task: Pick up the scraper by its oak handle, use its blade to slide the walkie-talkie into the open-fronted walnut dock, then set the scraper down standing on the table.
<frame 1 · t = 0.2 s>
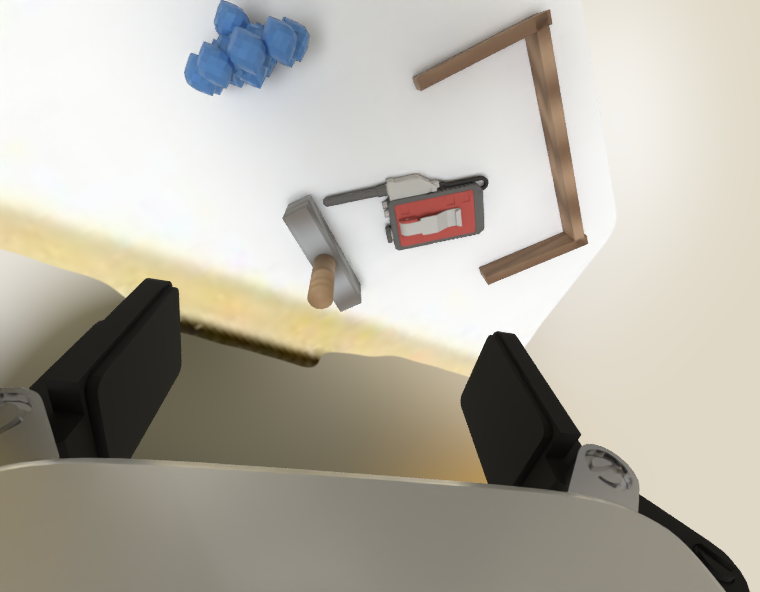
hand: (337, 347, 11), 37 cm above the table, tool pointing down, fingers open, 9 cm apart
walkie-talkie: (406, 208, 48), on the table
grapes: (257, 49, 38), on the table
dock: (498, 168, 45), on the table
scraper: (326, 246, 49), on the table
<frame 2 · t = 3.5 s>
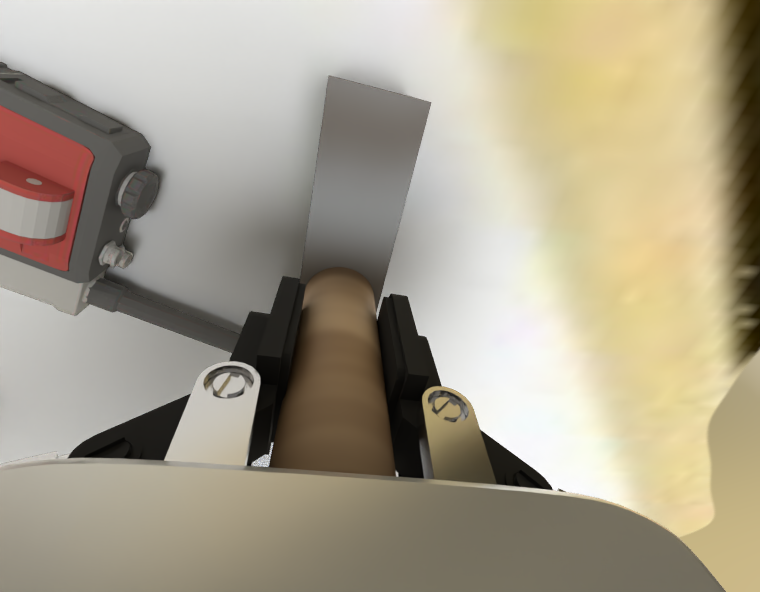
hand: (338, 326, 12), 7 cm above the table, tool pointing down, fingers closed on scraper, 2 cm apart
walkie-talkie: (76, 196, 17), on the table
scraper: (340, 246, 18), on the table, touching gripper
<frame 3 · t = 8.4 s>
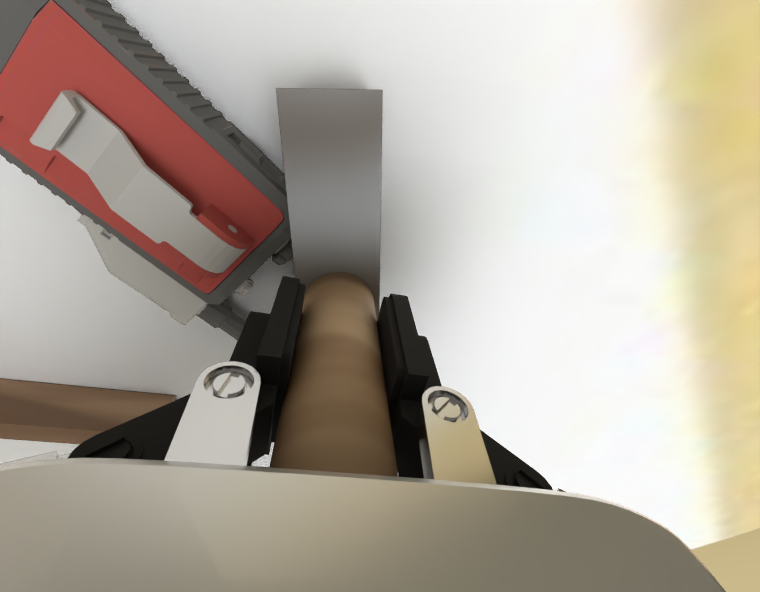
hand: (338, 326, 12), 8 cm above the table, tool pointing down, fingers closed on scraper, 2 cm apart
walkie-talkie: (218, 221, 18), on the table, touching scraper
dock: (18, 183, 16), on the table
scraper: (340, 253, 18), point 1 cm above the table, touching gripper, walkie-talkie
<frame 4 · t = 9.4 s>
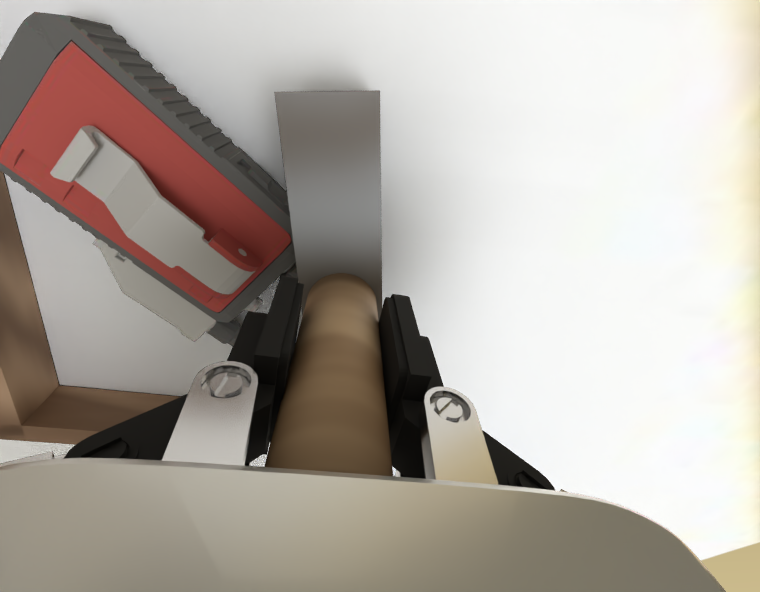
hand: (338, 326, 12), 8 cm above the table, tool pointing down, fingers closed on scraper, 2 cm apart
walkie-talkie: (226, 241, 19), on the table, touching dock, scraper
dock: (152, 209, 18), on the table
scraper: (345, 255, 18), point 1 cm above the table, touching gripper, walkie-talkie
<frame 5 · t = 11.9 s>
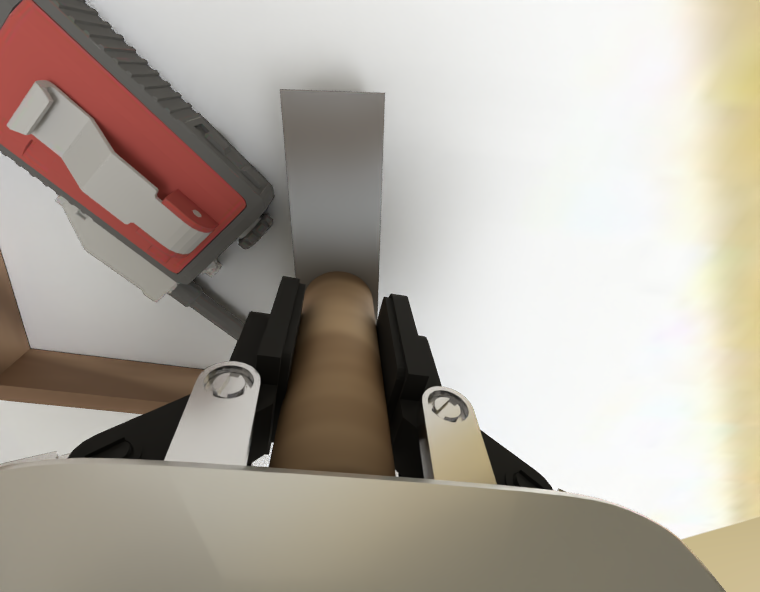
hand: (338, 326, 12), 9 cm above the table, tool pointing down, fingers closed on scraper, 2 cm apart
walkie-talkie: (190, 206, 20), on the table
dock: (112, 172, 18), on the table
scraper: (339, 252, 18), point 2 cm above the table, touching gripper
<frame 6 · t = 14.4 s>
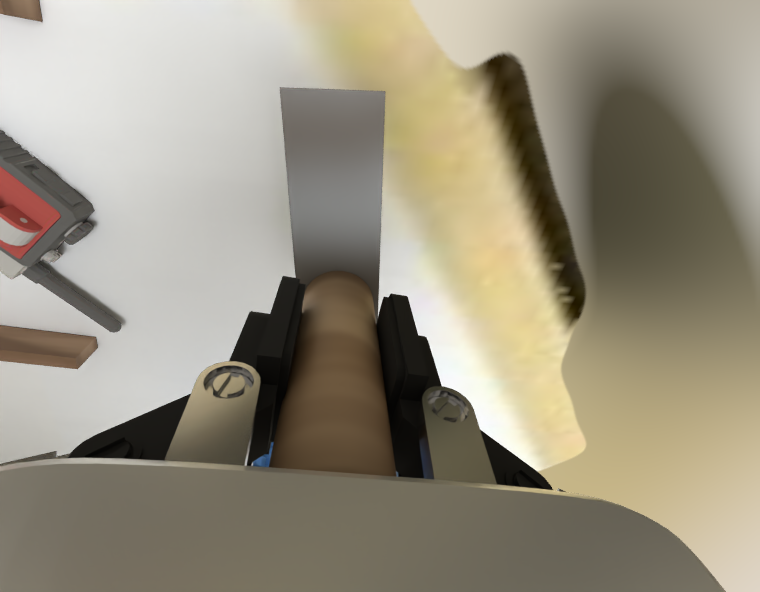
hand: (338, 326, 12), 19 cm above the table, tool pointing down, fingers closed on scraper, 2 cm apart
walkie-talkie: (39, 215, 29), on the table
scraper: (340, 252, 18), point 12 cm above the table, touching gripper
when the fingers open (8 cm above the table, at t = 16.5 s): scraper drops 1 cm, on the table.
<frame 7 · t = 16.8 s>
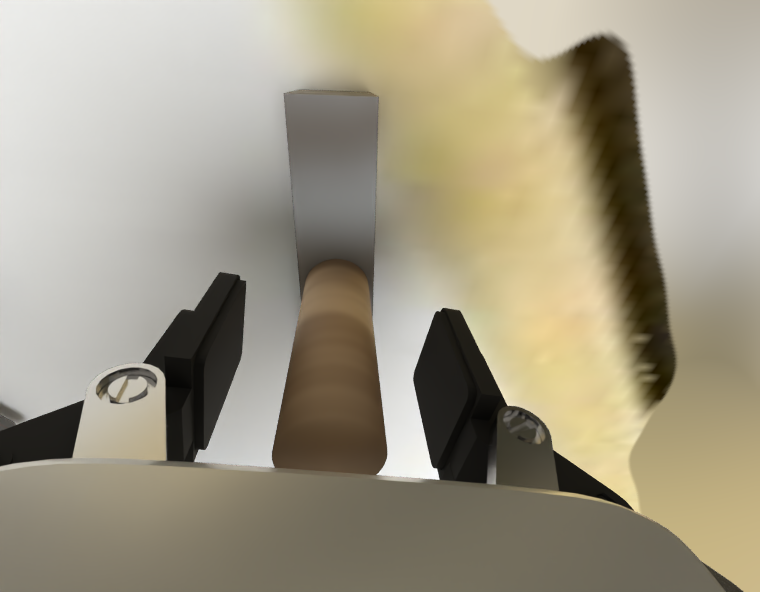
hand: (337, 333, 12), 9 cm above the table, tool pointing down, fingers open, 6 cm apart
scraper: (338, 242, 20), on the table
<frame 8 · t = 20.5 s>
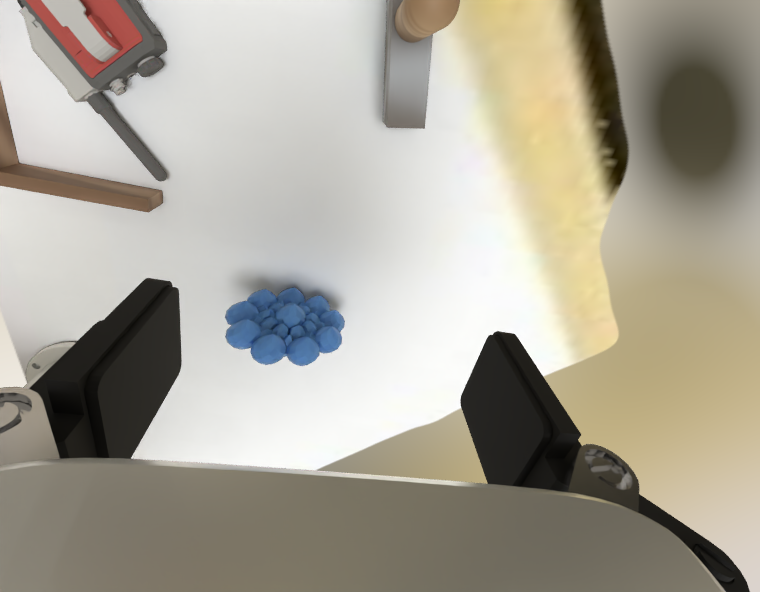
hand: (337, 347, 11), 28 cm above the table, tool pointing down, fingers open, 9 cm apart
walkie-talkie: (111, 46, 31), on the table
grapes: (293, 299, 43), on the table
dock: (70, 22, 29), on the table
scraper: (403, 28, 31), on the table
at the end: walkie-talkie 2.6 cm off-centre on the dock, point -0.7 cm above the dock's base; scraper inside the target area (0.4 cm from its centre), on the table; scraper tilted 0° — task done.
